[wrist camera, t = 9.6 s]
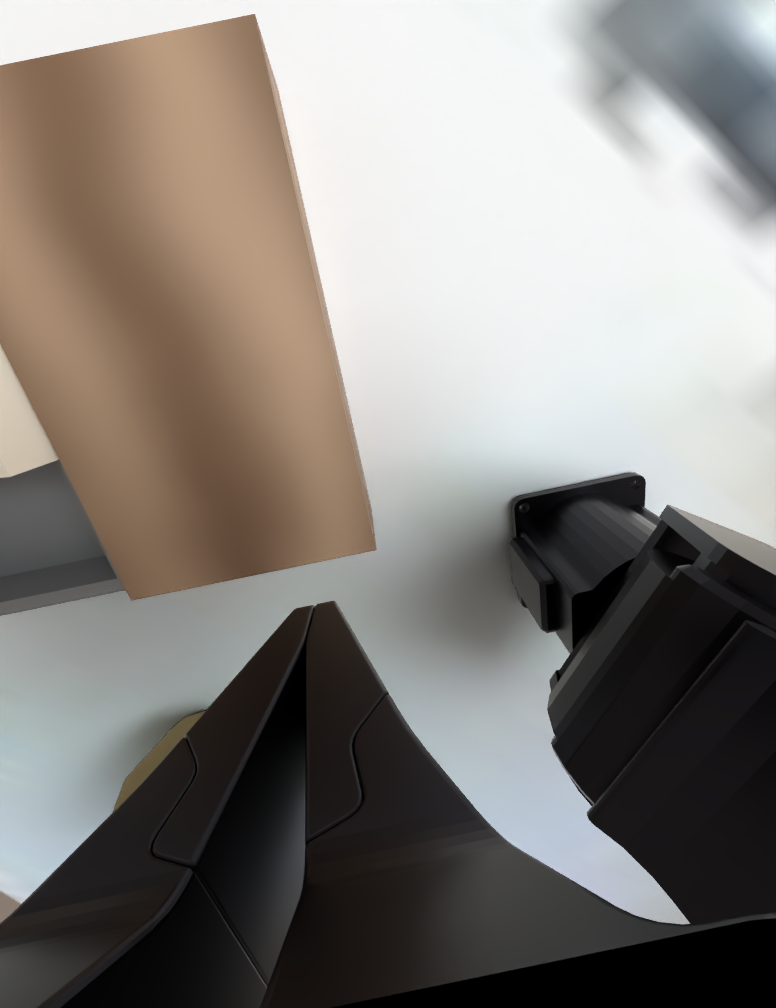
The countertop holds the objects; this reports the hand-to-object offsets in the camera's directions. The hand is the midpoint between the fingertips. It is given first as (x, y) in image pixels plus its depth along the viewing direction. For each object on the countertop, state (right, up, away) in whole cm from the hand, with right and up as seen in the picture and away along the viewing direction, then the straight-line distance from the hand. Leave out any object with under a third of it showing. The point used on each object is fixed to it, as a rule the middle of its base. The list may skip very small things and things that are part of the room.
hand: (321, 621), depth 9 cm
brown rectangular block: (-6, +8, +9) cm, 14 cm away
